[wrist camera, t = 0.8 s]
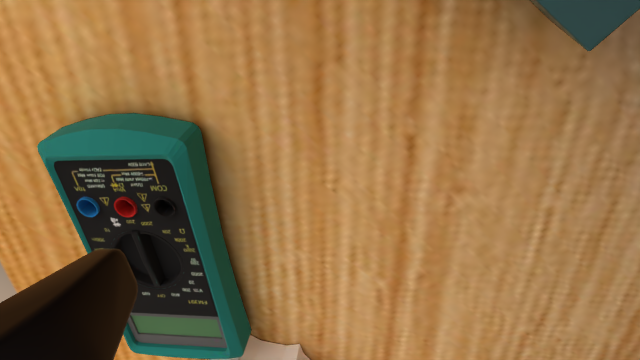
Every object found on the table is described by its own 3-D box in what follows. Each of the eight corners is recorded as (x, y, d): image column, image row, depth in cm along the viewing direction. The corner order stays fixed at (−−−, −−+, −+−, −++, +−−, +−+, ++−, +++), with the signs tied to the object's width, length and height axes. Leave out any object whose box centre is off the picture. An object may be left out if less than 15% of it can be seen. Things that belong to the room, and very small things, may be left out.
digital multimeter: (201, 106, 21) (173, 133, 18) (256, 329, 28) (241, 370, 26) (60, 111, 22) (17, 137, 20) (148, 323, 30) (125, 361, 27)
